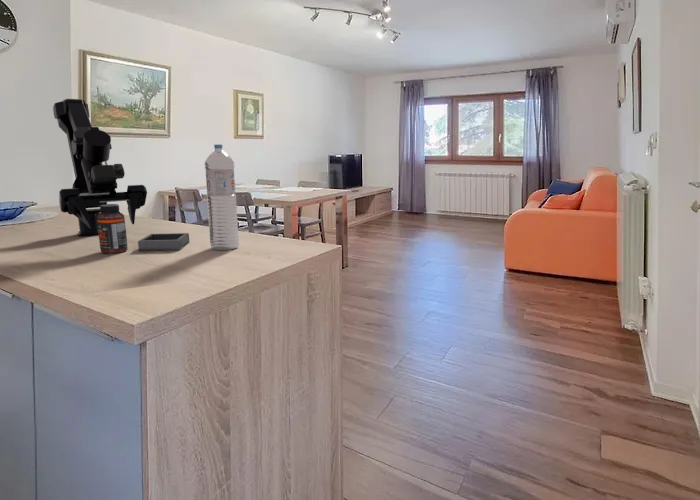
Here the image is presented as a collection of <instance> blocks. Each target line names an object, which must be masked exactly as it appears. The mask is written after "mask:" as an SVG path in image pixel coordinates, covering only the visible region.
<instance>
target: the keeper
mask: <svg viewBox="0 0 700 500" xmlns="http://www.w3.org/2000/svg"><path fill="white" fill-rule="evenodd" d="M188 244H190V233H189V232H181V233H180V232H179V233H177V232H176V233H150V234H148V235H146V236H145V237H143V238H141V239H139V240H137V246H138V252H165V251H166V252H169V251H182V249H183V248H184V247H186V246H187V245H188Z"/></svg>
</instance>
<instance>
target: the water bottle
mask: <svg viewBox="0 0 700 500" xmlns="http://www.w3.org/2000/svg"><path fill="white" fill-rule="evenodd" d="M213 147H214V151H213V152H211V153H210V154H209V156H207V158H206V160H205V161H204V169H205V181H206V199H207V200H206V201H207V204H206V205H207V215H208V216H207V217H208V231H209V244H210V249H212V250H213V251H230V250H235V249H237V248H239V245H240V243H239V241H240V240H239V228H238V227H239V226H238V225H239V224H238V209H237V207H238V206H237V195H236V181H235V162H234V160H233V158H232V157H231V156H230V155H229V154H228V153H226V152H225V151H224V150H223V144H222V143H221V144H214V145H213Z"/></svg>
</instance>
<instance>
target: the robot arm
mask: <svg viewBox="0 0 700 500" xmlns="http://www.w3.org/2000/svg"><path fill="white" fill-rule="evenodd" d="M52 111H53V117H54V119H55V120H57V125H58V127H59V129H61V130H62V132H64V134H66V137H67V143H68V148H69V152H70V158H71V163H72V166H73V173H74V177H75V180H74V181H73V184H72V187H71V188H62V189H60V190H59V191H58V193H59V196H58V197H59V199H58V200H59V201H58V202H59V208H60V212H62V213H67V214H68V215H74V216H75V217H76V218H77V220H78V228H79V231H78V233H77V236H78V237H81V236H95V235H96V236H97V235H98V236H99V233H98V225H97V216H98V215H99V214H100V213H101V211H100V205H105V204H108V203H112V202H113V203H114V202H126V204H127V212H128V216H129V219H130V220H129V221H130V223H131V224H132V225H135V223H136V222H135V221H136V220H135V218H136V211H137V210H139V209H140V208H141V207H143V206H145V205H146V200H147V195H148V190H147V188H146V186H145V185H144V184H134V185H132V184H129V185H127V190H126V191H120V192H119V191H116V189H118V181H117V180H119V179H124V177H125V170H124V169H125V168H124V166H123V163H113V164H108V161H109V159H110V152H111V151H110V150H112V144H111V142H112V137H111V135H110V134H108V133H107V132H106V131H104V130H101V129H100V127H99V126H93V125H92V123H91V120H90V109H89V105H88V103H86V101H85V100H83V99H80V98H79V99H78V98H66V99H63V100H62V101H58V102H55V103H54V104H53V106H52Z"/></svg>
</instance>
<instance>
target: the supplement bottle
mask: <svg viewBox="0 0 700 500" xmlns="http://www.w3.org/2000/svg"><path fill="white" fill-rule="evenodd" d="M99 208H100V211H101V212H100V214H99V215H98V216H97V225H98V233H99V234H98V241H99V242H98V243H99V249H100V252H101V253H103V254H107V255H111V254H112V255H113V254H115V255H116V254H120V253H125V252H127V250H128V247H129V246H128V239H127V229H126V219H125V218H126V217H125V215H124V213H121V212H120V206H119V204H117V203H107V204H105V205H100V207H99Z"/></svg>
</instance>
